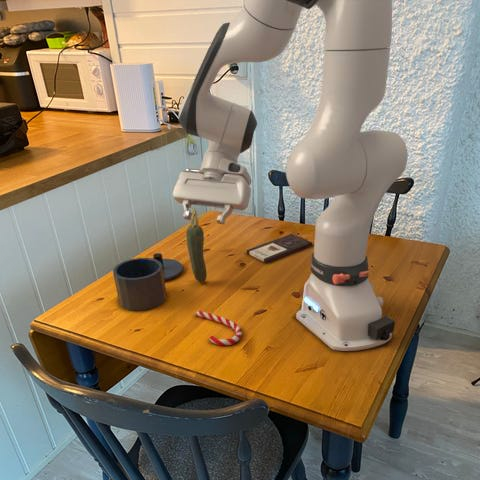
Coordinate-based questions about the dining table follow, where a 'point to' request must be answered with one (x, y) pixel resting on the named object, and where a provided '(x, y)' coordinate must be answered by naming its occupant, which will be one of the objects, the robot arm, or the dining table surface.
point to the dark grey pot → (140, 284)
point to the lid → (169, 266)
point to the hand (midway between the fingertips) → (203, 221)
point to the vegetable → (196, 248)
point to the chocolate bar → (279, 248)
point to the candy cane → (226, 322)
